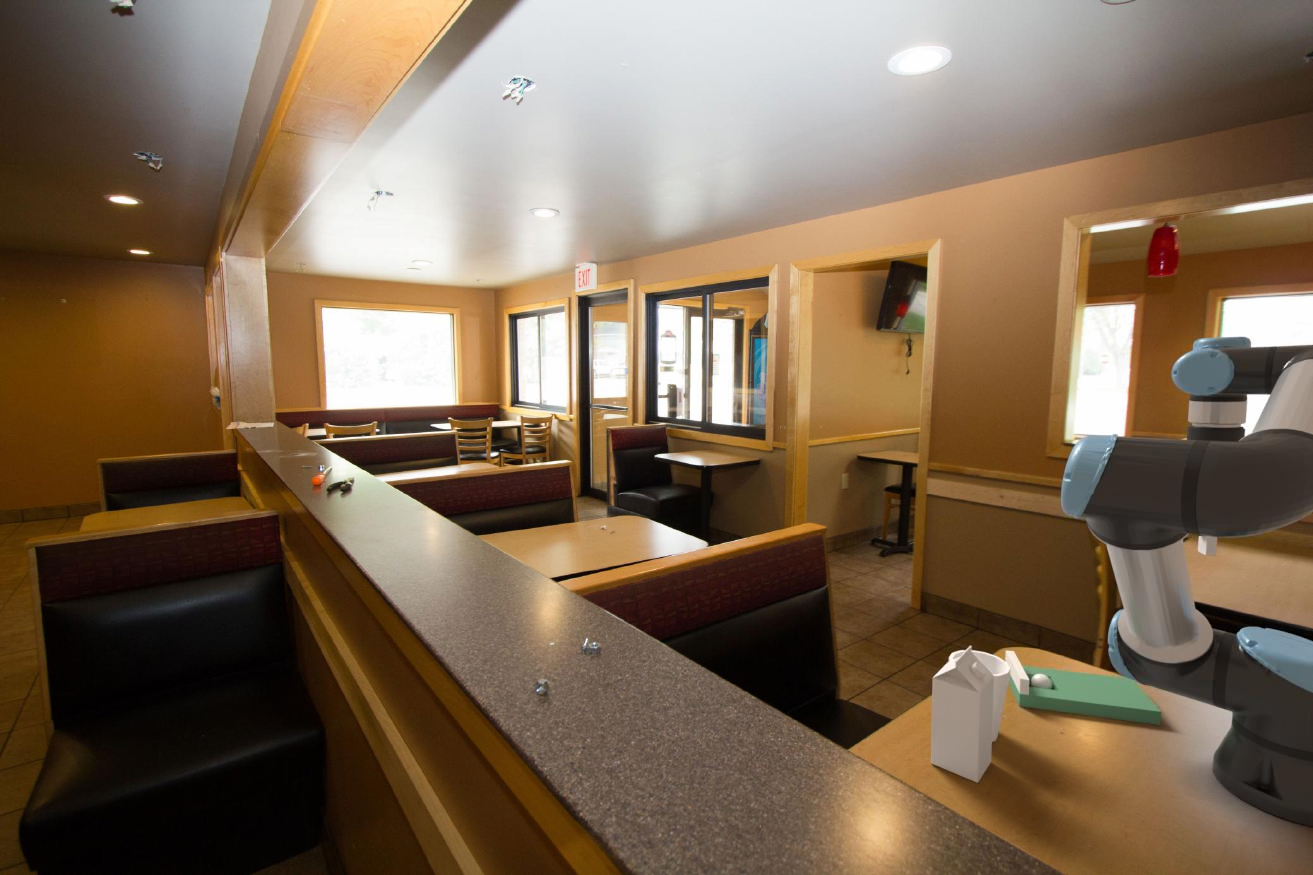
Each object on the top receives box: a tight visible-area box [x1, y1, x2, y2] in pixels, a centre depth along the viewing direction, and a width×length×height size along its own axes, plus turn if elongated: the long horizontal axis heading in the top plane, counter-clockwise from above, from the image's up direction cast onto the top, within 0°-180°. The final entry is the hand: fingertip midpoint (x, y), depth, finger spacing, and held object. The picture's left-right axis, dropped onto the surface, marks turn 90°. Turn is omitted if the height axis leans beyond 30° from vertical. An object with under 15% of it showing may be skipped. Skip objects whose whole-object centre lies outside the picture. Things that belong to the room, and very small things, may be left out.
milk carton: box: [930, 645, 994, 784], centre depth 96 cm, size 7×7×19 cm
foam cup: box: [948, 649, 1010, 743], centre depth 105 cm, size 10×9×13 cm
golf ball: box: [1031, 674, 1052, 689], centre depth 117 cm, size 4×4×4 cm
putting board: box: [1004, 650, 1162, 726], centre depth 115 cm, size 12×22×6 cm, turn 71°
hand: (1206, 553), depth 108 cm, fingers closed
